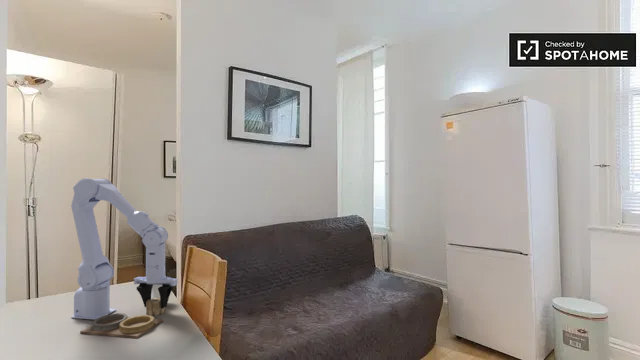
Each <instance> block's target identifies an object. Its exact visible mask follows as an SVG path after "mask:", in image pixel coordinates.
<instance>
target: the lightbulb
mask: <svg viewBox="0 0 640 360" xmlns="http://www.w3.org/2000/svg"><path fill="white" fill-rule="evenodd" d="M161 286H162V285H153V287H152V292H151V299H153V298H160V294H159V291H158V288H159V287H161Z"/></svg>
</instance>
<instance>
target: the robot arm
mask: <svg viewBox="0 0 640 360" xmlns="http://www.w3.org/2000/svg"><path fill="white" fill-rule="evenodd" d="M72 189H73V193H74V194H73V197H72V202H71V205H70V206H71V212H72V216H73V220H74V225H75V231H76V234H77V239H78V243H79V248H80V253H81V257H82V261H81V262H80V264H79V265H78V268H77V270H78V276H77V284H78V285H79V288H78V289H77V290H76V291H75V292H74V296H73V315H71V317H70V318H71V319H84V320H93V321H94V320H95V319H97V318H99V317H101V316H105V315H109V314H113V313H114V312H116V311H117V308H111V307H110V304H111V303H110V302H111V301H110V300H111V296H110V295H111V290H110V289H111V288H110V287H111V280H112V279H113V277H114V275H115V269H114V267H113V265H111V263H110V260H109V258H108V257H107V256H106V255H104V252H103V248H102V244H101V239H100V235H99V230H98V226H97V221H96V216H95V212H94V208H95V207H96V205H98V203H99V202H100V201H104V202H105V201H106V202H109V204H110V205H112V206H113V207H114V208H115V209H117V210H118V211H119V212H120V213H122V215H123V216H125V218H127V221H126V222H127V224H128V225H129V226H130V227H131V228H132V229H133V230H134V231H135V232H136V233H137V234H138V235H139V237H140V238H142V239H141V241H142V244H143V245H144V246H145V276H137V277H134V278H133V285H138V286H136V291H137V293H139V295H140V298H141V300H142V303H143V305H144V308H146V302H147V300H149V299H152V293H151V292H152V287H153V285H162V286H161V287H159V288H158V291H159V294H160V305H161V308H165V309H166V307H168V302H169V298H170V296H171V293H172V290H173V289H174V287H175V286H178V278H173V277H170V276H166V242H167V240H168V238H169V233H168V231H167V230H166V228H165V227H163V226H160V225H159V224H158V223H156V222H154V220H153V219H151V218H150V214H149V213H148V212H147V211H146V212H145V211H142V210H140V211H139V210H136V208H134V206H133V205H132V204H131V203H130V202H129V201H128V199H126V198H125V196H124V195H123V193H121V192H120V191H119V189H118V188H117V187H116V185H115V184H113V183H112V182H111V180H109V179H107V178H89V177H85V178H82V179H80V180H78V182H76V183H75V185H74V186H73V187H72Z"/></svg>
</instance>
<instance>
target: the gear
mask: <svg viewBox="0 0 640 360" xmlns="http://www.w3.org/2000/svg"><path fill="white" fill-rule="evenodd" d="M165 311H166V307H165V308H161V305H160V298H151V299H149V300H147V302H146V307H145V313H146V314H145V315H151V316H152V317H153V316H159V315H160V314H162V315H163V314H164V313H165Z"/></svg>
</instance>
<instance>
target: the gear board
mask: <svg viewBox="0 0 640 360" xmlns="http://www.w3.org/2000/svg"><path fill="white" fill-rule="evenodd" d="M162 323H164V319H160V318H155V317H154V316H153V315H152V316H151V315H146V314H142V315H135V316H128V315H127V314H126V313H121V312H120V313H119V312H117V313H110V314H108V315H105V316H101V317H99V318H97V319H95V320H94V319H93V321H92V322H91V325H90V326H89V327H86V328H85V329H82V330H81V331H80V334H81V335H93V336H105V337H116V338H117V337H118V338H129V339H131V338H132V339H139V338H140V337H141V336H143V335H144V334H146V333H147V332H150V331H151V330H153V329H154V328H155V327H157V326H159V325H160V324H162Z"/></svg>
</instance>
